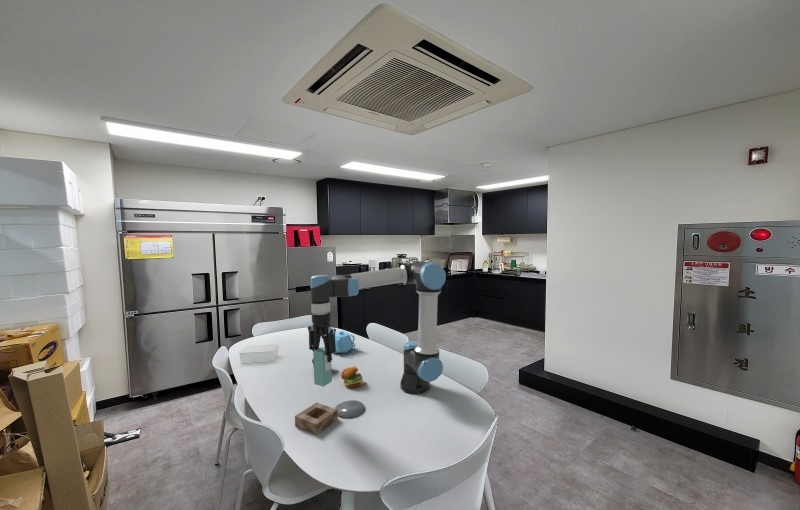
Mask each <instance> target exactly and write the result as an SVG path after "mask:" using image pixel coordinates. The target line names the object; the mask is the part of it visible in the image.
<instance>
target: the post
mask: <svg viewBox="0 0 800 510" xmlns="http://www.w3.org/2000/svg"><path fill="white" fill-rule="evenodd" d="M325 354H326V351H325V346H324V347H323V346H320V347H319V348H318V349H316V350H314V351H312V355H313V357H314V366H313V378H314V379H313V380H314V381H313V382H314V385H316V386H321V387H325V386H327V385H329V384H330V383H332V382H333V376H332V375H333V373H332V371H333V370H332V367H331V369H329V370H327V371H326V370H325ZM313 357H312V358H313Z"/></svg>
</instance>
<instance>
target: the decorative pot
mask: <svg viewBox="0 0 800 510" xmlns="http://www.w3.org/2000/svg"><path fill="white" fill-rule="evenodd" d="M351 337H352V338H351ZM355 339H356V337H355V335H353V334H350V333H349V332H347V331H346V332H345V331H344V330H340V331H338V332H337V331H336V332H335V345H336V352H334V353H333V354H337V353H338V354H339V353H342V354H347V353H348V352H350V351H351V349H352V348H355V347H356V343H355Z"/></svg>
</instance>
